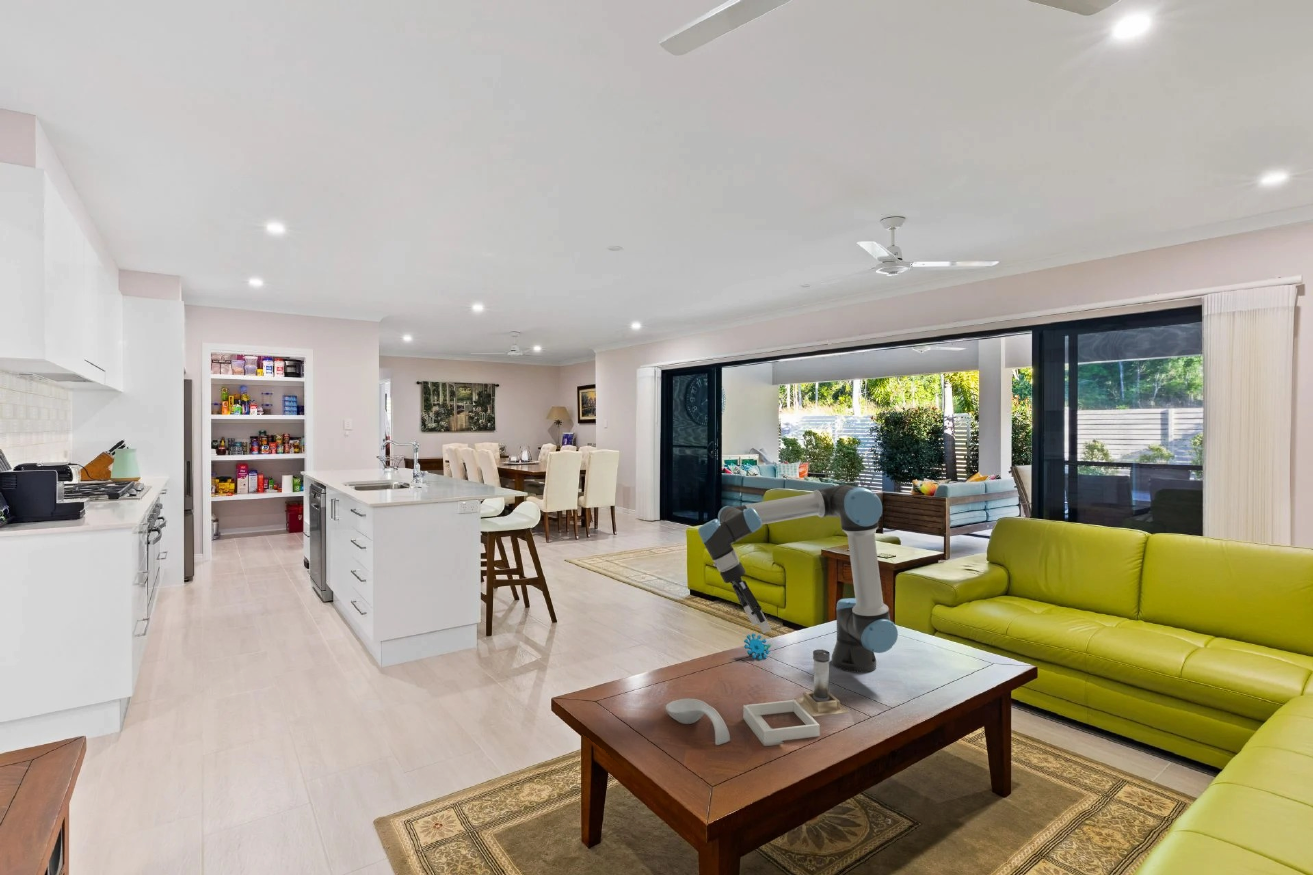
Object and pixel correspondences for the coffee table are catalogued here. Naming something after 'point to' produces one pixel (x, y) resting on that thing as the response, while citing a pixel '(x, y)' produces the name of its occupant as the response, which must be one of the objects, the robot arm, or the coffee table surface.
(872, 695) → the coffee table surface
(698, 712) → the spoon rest
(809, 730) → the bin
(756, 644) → the gear
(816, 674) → the capped clear cylinder
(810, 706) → the socket block
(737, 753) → the coffee table surface
